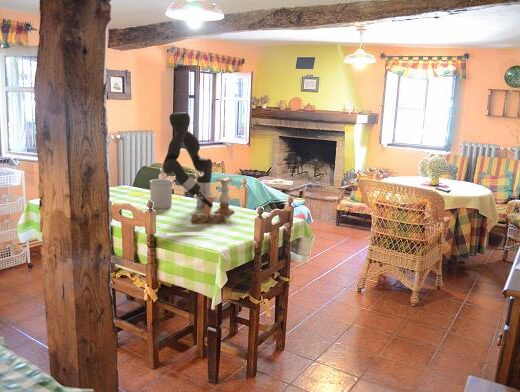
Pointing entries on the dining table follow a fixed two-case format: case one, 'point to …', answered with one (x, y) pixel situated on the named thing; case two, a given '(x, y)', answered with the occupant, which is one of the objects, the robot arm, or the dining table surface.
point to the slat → (207, 208)
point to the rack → (207, 220)
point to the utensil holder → (161, 193)
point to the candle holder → (224, 198)
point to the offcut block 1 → (202, 215)
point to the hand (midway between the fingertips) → (211, 206)
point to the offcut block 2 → (214, 215)
